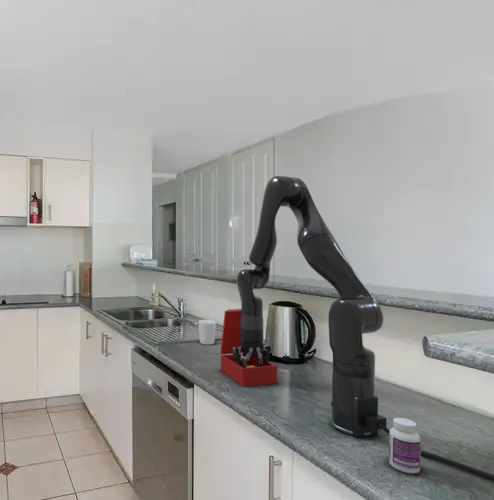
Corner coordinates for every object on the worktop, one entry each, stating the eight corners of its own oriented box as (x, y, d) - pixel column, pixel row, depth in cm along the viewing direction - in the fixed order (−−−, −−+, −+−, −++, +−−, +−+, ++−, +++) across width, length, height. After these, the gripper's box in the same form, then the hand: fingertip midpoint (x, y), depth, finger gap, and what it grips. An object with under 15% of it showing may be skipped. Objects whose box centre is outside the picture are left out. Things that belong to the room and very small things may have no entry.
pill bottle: (427, 474, 80) (427, 427, 80) (402, 475, 80) (402, 428, 80) (406, 459, 86) (407, 415, 85) (382, 460, 85) (383, 416, 85)
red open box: (277, 383, 131) (277, 366, 131) (242, 386, 129) (242, 368, 129) (251, 368, 147) (251, 353, 147) (220, 370, 144) (220, 355, 144)
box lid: (257, 310, 142) (250, 305, 147) (226, 311, 140) (219, 306, 145) (252, 352, 146) (245, 346, 151) (221, 354, 143) (215, 347, 148)
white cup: (205, 339, 190) (205, 319, 189) (219, 343, 183) (219, 321, 183) (194, 342, 184) (195, 321, 184) (208, 346, 178) (208, 324, 178)
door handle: (255, 359, 150) (293, 355, 152) (232, 345, 170) (266, 342, 172) (255, 368, 150) (294, 363, 152) (232, 353, 170) (267, 349, 172)
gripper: (238, 330, 130) (237, 381, 130) (276, 328, 133) (276, 378, 133) (227, 325, 137) (226, 373, 138) (264, 323, 140) (263, 371, 141)
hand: (251, 375), depth 135 cm, fingers closed on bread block, 5 cm apart
